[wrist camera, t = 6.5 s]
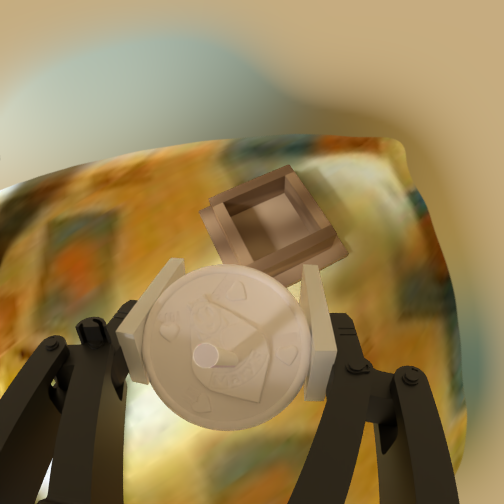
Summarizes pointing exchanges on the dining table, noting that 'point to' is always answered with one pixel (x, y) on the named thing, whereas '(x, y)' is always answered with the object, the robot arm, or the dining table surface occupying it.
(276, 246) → the box
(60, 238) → the dining table surface
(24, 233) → the dining table surface
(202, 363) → the smoothie
